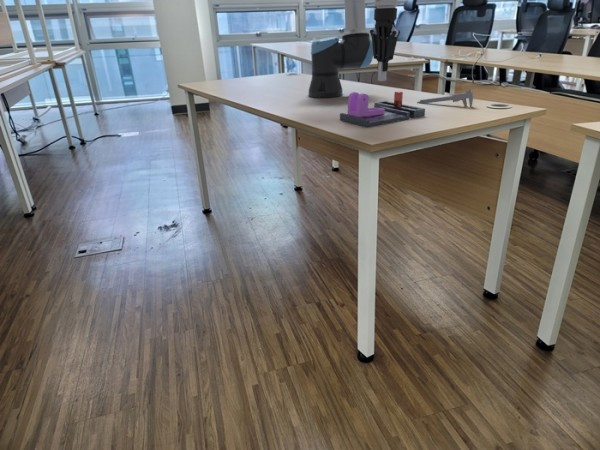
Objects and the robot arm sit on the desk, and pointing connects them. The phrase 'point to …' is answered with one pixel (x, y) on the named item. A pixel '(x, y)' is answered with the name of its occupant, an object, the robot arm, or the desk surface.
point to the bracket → (361, 106)
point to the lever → (398, 99)
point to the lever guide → (413, 113)
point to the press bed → (376, 117)
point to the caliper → (452, 98)
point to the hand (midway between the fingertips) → (381, 80)
